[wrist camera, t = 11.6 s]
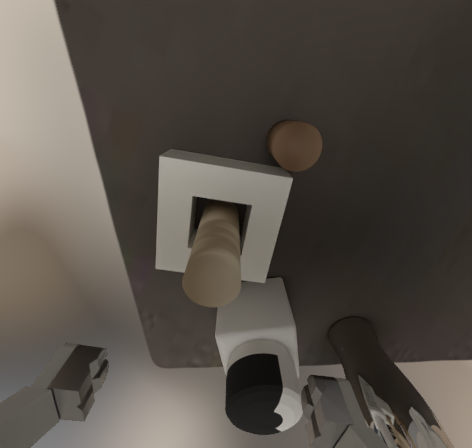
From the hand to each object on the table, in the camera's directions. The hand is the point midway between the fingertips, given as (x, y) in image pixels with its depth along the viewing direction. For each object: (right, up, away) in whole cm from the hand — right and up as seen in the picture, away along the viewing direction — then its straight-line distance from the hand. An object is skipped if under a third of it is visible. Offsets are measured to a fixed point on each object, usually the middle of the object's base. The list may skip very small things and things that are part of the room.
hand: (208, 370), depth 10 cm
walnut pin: (+6, +14, +13) cm, 20 cm away
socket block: (-1, +7, +16) cm, 18 cm away
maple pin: (0, +7, +16) cm, 18 cm away
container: (+3, -4, +22) cm, 22 cm away
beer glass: (+17, -9, +24) cm, 31 cm away
